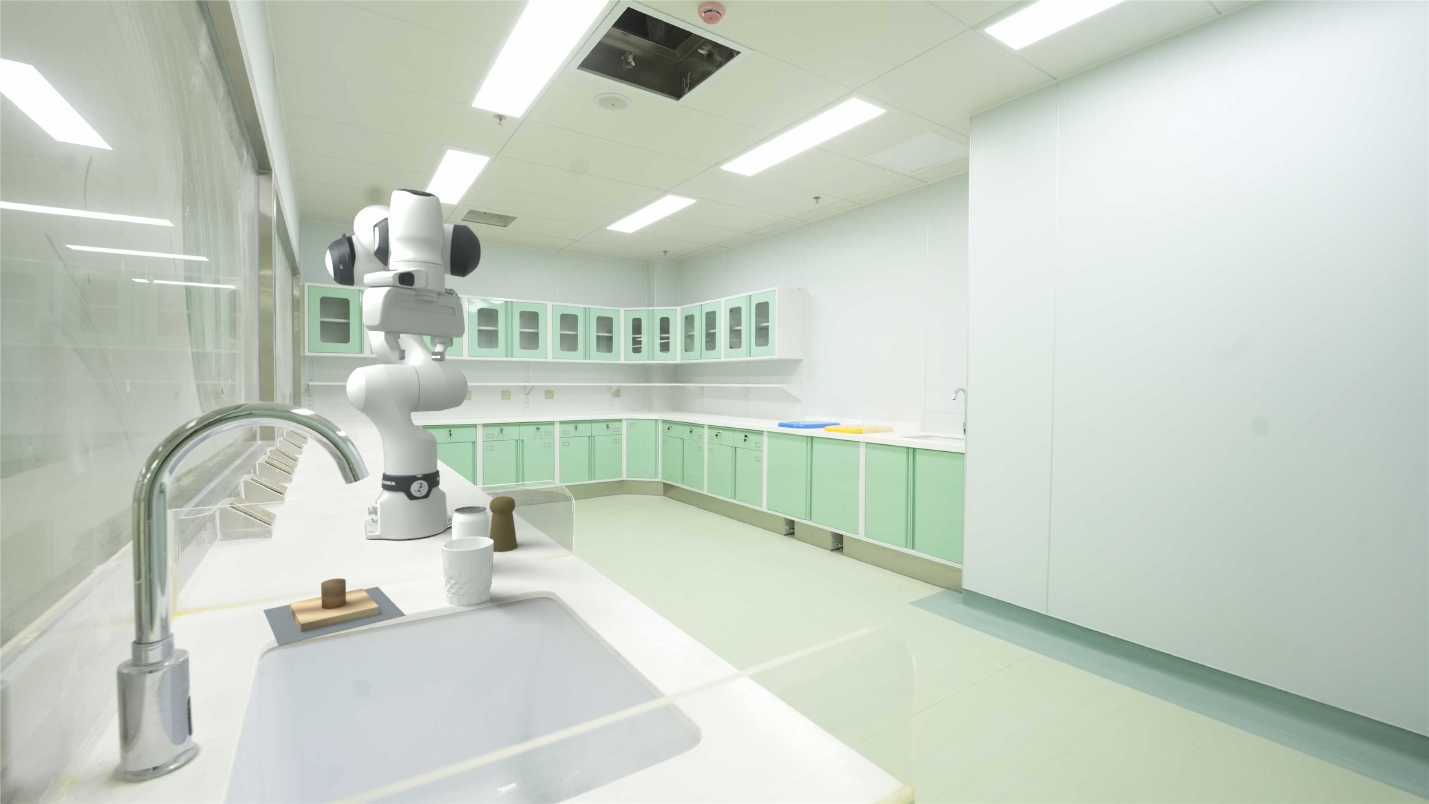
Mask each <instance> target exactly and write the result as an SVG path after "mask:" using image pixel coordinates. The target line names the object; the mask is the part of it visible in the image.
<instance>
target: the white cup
mask: <svg viewBox="0 0 1429 804" xmlns="http://www.w3.org/2000/svg"><path fill="white" fill-rule="evenodd" d="M441 549H442V564H443V578H444V588H445V596H446V597H445V598H446V603H448V604H449V605H452V606H456V607H462V606H463V607H466V606H467V607H468V606H472V605H478V604H482V603H484V602H486V601H488V602H491V590H492V584H493V571H494V569H493V568H494V567H493V566H494V552H493V549H494V541H493V540H492V539H490V538H486V537H464V538H458V539H453V540H452V539H451V540H448V541H445V542H444V543H443V544H442V548H441Z"/></svg>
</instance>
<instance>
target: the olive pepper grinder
mask: <svg viewBox="0 0 1429 804" xmlns="http://www.w3.org/2000/svg"><path fill="white" fill-rule="evenodd" d="M515 509H516V500H515V498H513V497H511V496H505V495H503V496H497V497H493V498H492V499H491V501H490V502H489V510H490V512H491V522H490V529H489V530H490V531H489V538H490V539H492V540H493V541H494V549H493V553H504V552H510V551H514V550H516V549H517V548H518V541H517V533H516V526H515V519H514V513H513V512H514V511H515Z"/></svg>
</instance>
